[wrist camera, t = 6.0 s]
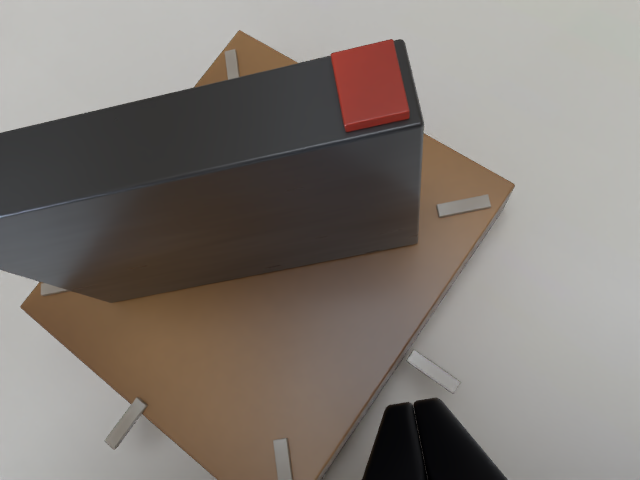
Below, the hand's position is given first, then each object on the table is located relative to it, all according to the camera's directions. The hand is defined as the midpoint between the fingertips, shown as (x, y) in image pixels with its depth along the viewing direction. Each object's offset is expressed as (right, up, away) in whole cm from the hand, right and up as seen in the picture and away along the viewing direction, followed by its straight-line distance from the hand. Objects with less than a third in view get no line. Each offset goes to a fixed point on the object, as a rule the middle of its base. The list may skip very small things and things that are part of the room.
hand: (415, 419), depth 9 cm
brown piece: (-3, +2, +9) cm, 10 cm away
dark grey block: (-3, +3, +7) cm, 8 cm away
